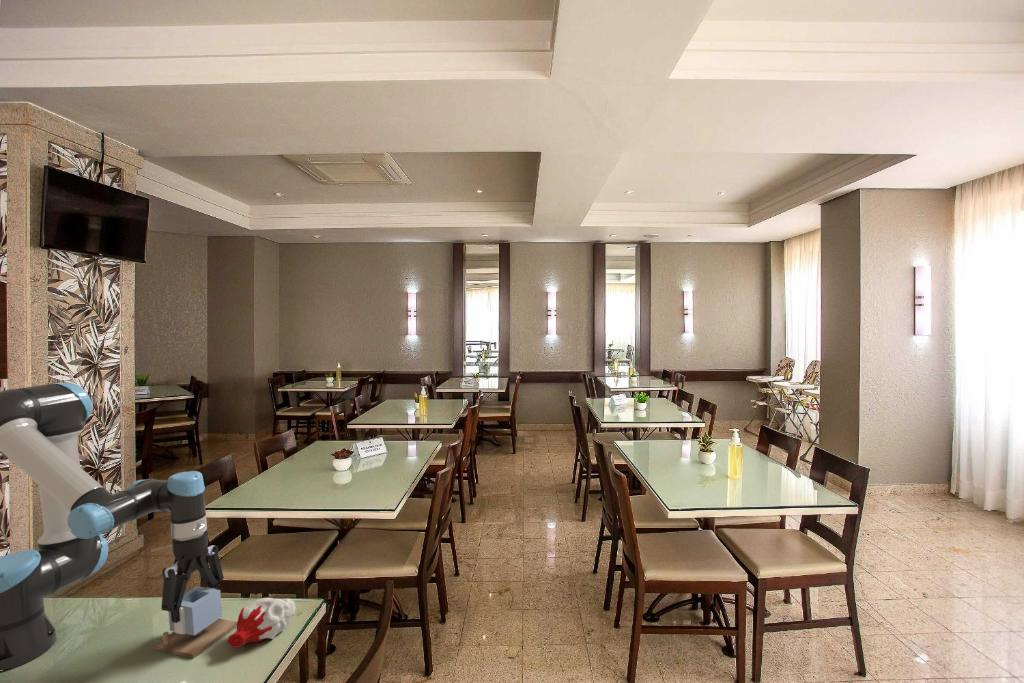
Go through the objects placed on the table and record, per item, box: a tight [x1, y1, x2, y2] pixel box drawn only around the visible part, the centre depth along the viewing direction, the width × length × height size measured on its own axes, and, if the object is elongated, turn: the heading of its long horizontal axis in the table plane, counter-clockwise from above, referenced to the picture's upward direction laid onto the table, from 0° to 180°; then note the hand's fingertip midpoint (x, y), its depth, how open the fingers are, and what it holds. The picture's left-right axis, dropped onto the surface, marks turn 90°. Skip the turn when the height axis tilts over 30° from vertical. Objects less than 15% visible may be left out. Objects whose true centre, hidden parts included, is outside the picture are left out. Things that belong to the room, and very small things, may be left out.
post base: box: [152, 618, 237, 659], centre depth 128 cm, size 13×13×7 cm
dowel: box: [162, 631, 170, 647], centre depth 124 cm, size 1×1×3 cm
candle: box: [226, 597, 297, 648], centre depth 127 cm, size 9×11×15 cm
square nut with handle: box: [167, 586, 223, 635], centre depth 129 cm, size 12×8×7 cm
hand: (196, 622), depth 128 cm, fingers closed on square nut with handle, 8 cm apart
